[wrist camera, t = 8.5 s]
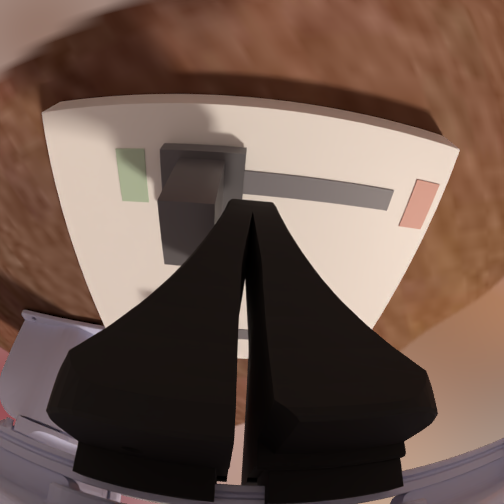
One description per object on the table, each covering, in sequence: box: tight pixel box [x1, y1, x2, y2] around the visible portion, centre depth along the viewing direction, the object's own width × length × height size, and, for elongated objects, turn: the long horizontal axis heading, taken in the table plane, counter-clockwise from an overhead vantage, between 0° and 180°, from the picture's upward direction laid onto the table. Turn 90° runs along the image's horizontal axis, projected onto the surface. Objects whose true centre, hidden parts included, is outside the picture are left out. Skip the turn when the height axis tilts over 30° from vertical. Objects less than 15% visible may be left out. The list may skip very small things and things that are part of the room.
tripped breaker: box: [157, 143, 247, 266], centre depth 10 cm, size 3×3×3 cm
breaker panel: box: [42, 94, 460, 359], centre depth 16 cm, size 17×16×2 cm
